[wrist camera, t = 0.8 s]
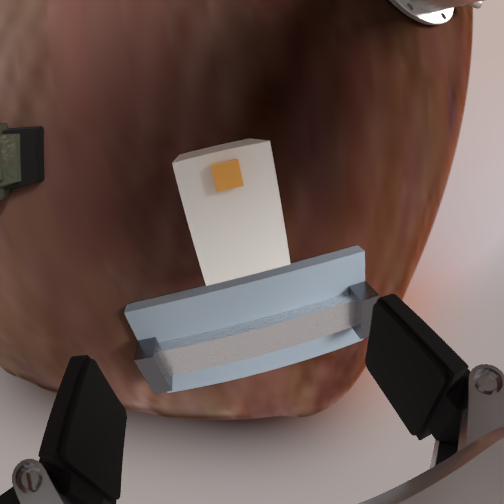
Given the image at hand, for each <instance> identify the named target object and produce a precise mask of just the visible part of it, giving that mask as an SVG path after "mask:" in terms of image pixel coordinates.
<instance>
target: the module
mask: <svg viewBox="0 0 504 504" xmlns="http://www.w3.org/2000/svg"><path fill="white" fill-rule="evenodd" d="M172 165H173V169H174V173H175V177H176V181H177V185H178V189H179V192H180V196H181V200H182V204H183V207H184V211H185V215H186V219H187V222H188V226H189V229H190V233H191V236H192V240H193V243H194V247H195V250H196V254H197V257H198V261H199V264H200V267H201V271H202V274H203V277H204V281H205V284H206V286H209V285H213V284H217V283H221V282H225V281H228V280H232V279H236V278H240V277H244V276H248V275H252V274H256V273H260V272H264V271H267V270H271V269H275V268H279V267H283V266H286V265H290V257H289V251H288V244H287V238H286V231H285V225H284V219H283V213H282V206H281V200H280V195H279V189H278V183H277V177H276V171H275V166H274V160H273V155H272V149H271V144H270V141H267V140H259V139H251V138H249V139H244V140H239V141H234V142H230V143H225V144H221V145H216V146H212V147H208V148H203V149H199V150H195V151H191V152H187V153H183V154H180V155H178V156H177V158H176V159H175V160H174V161H173V163H172Z"/></svg>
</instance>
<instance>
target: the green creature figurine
mask: <svg viewBox="0 0 504 504" xmlns="http://www.w3.org/2000/svg"><path fill="white" fill-rule="evenodd" d="M43 180H44V129H43V127H42V126H39V127H20V128H9V129H8V127H7V123H0V200H2V199H4V198H6V197H7V196H9V193H10V189H13V188H16V187H20V186H24V185H28V184H32V183H36V182H40V181H43Z"/></svg>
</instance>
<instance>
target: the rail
mask: <svg viewBox="0 0 504 504" xmlns="http://www.w3.org/2000/svg"><path fill="white" fill-rule="evenodd" d="M378 298H379V294H378V293H377V292H376V291H375V290H374V289H373V288H372V287H371V286H370V285H369V284H368V283H367V282H366V281H363V282H360V283H357V284H354V285H351V286H348V293H345V294H342V295H339V296H335V297H332V298H329V299H326V300H322V301H319V302H316V303H313V304H309V305H306V306H302V307H299V308H296V309H292V310H289V311H285V312H281V313H278V314H274V315H271V316H267V317H263V318H260V319H256V320H252V321H248V322H244V323H240V324H236V325H232V326H228V327H224V328H220V329H216V330H212V331H208V332H204V333H199V334H195V335H190V336H186V337H181V338H177V339H172V340H167V341H163V342H158V341H157V338H156V337H153V338H148V339H143V340H138V342H137V347H136V352H135V358H134V361H135V363H136V365H137V367H138V368H139V370H140V372H141V373H142V375H143V376H144V378H145V380H146V381H147V383H148V384H149V386H150V388H151V389H152V391H153V392H154V394H155V393H162V392H168V391H172V380H173V375H177V374H182V373H187V372H192V371H197V370H202V369H206V368H211V367H215V366H220V365H224V364H228V363H233V362H237V361H241V360H245V359H249V358H253V357H256V356H260V355H264V354H268V353H271V352H275V351H278V350H282V349H285V348H289V347H292V346H296V345H299V344H302V343H305V342H309V341H312V340H315V339H318V338H321V337H324V336H327V335H330V334H333V333H336V332H339V331H342V330H345V329H348V328H351V327H352V328H353V330H354V331H355V333H356V334H357V335H358V337H359V338H360V339H363V338H366V337H369V333H370V326H371V319H372V310H373V305H374V304H375V303H376V302H377V299H378Z"/></svg>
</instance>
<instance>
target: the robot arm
mask: <svg viewBox="0 0 504 504" xmlns="http://www.w3.org/2000/svg"><path fill="white" fill-rule="evenodd" d="M389 1H390V2H391V3H392V4H393V5H394V6H396V7H397V8H398V9H399V10H400V11H401V12H403V13H404V14H406V15H407V16H409V17H410V18H412V19H414V20H416V21H418V22H420V23H423V24H426V25H439V24H443V23H446V22H447V21H448V20H450V18H451V16H452V14H453V10H454V7H457V6H461V5H465V4H467V5H470V6H472V7H474V8H477V9H478V8H480V7H481V5H482V2H481V1H484V0H389ZM365 363H366V367H367V368H368V370H369V372H370V373H371V375H372V376H373V378H374V379H375V380H376V382H377V384H378V385H379V387H380V388H381V390H382V391H383V392H384V394H385V395H386V397H387V399H388V400H389V402H390V403H391V404H392V406H393V408H394V409H395V410H396V412H397V413H398V415H399V417H400V418H401V420H402V421H403V423H404V424H405V426H406V427H407V429H408V430H409V432H410V433H411V434H412V435H416V436H417V437H418V439H419V440H422V439H423V438H425V437H427V436H429V435H430V434H432V435H433V437H434V438H435V445H434V450H433V456H432V460H431V465H430V469H429V470H427V471H426V472H424V473H422V474H420V475H419V476H417V477H415V478H413V479H411V480H409V481H407V482H405V483H403V484H401V485H399V486H398V487H395V488H393V489H391V490H389V491H387V492H385V493H383V494H380V495H378V496H376V497H374V498H371V499H369V500H366V501H364V502H362V503H359V504H504V374H503V373H502V371H501V370H499V369H498V368H497V367H495V366H493V365H488V364H481V365H478V366H476V367H475V368H473V369H472V371H471V372H470V371H469V370H468V365H467V364H466V363H465V362H464V361H463V360H462V359H461V358H460V357H459V356H458V355H457V354H456V353H455V352H454V351H453V350H452V349H451V348H450V347H449V346H448V345H447V344H446V343H445V342H444V341H443V340H442V339H441V338H440V337H439V336H438V335H437V334H436V333H435V332H434V331H433V330H432V329H431V328H430V327H429V326H428V325H427V324H426V323H425V322H424V321H423V320H422V319H421V318H420V317H419V316H418V315H417V314H416V313H414V311H412V310H411V309H410V308H409V307H408V306H407V305H406V304H405V303H404V302H403V301H402V300H401V299H400V298H399V297H397V296H396V295H395V294H390V295H387V296H384V297H380V298H378V299H377V302H376V303H375V304H374V305H373V310H372V319H371V326H370V333H369V340H368V346H367V353H366V359H365ZM126 420H127V415H126V411H125V408H124V407H123V405H122V404H121V402H120V401H119V399H118V398H117V396H116V395H115V393H114V391H113V390H112V388H111V387H110V385H109V383H108V382H107V380H106V378H105V377H104V375H103V373H102V372H101V370H100V368H99V366H98V365H97V363H96V361H95V360H94V359H91V358H90V357H89V356H88V355H83V356H73V357H71V359H70V361H69V363H68V366H67V369H66V371H65V374H64V376H63V379H62V382H61V384H60V387H59V390H58V393H57V396H56V399H55V401H54V405H53V408H52V410H51V414H50V417H49V420H48V423H47V427H46V430H45V433H44V437H43V440H42V444H41V447H40V451H39V457H40V459H39V462H38V461H37V460H34V459H26V460H23V461H21V462H20V463H19V464H18V465H17V466H16V467H15V469H14V471H13V475H12V483H13V487H12V488H11V489H9V490H8V491H6V492H5V493H3V494H2V495H1V496H0V504H116V499H119V498H120V492H121V472H122V460H123V459H122V458H123V448H124V437H125V428H126Z"/></svg>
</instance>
